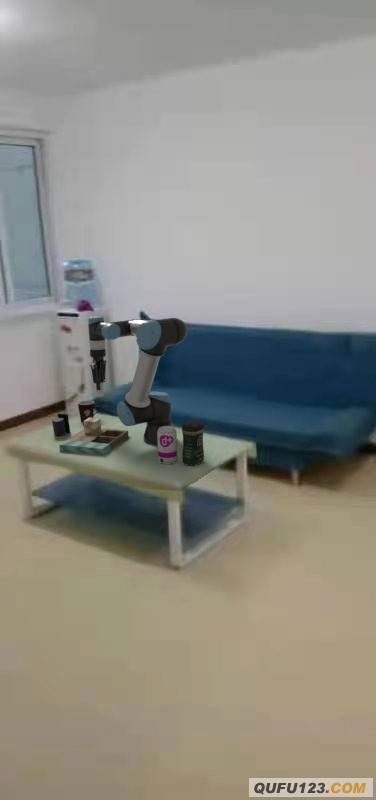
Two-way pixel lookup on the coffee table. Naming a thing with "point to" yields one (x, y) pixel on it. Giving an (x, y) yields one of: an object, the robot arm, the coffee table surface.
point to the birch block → (92, 425)
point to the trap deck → (94, 441)
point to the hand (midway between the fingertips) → (100, 395)
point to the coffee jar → (193, 442)
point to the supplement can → (167, 444)
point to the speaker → (61, 425)
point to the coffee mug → (87, 409)
